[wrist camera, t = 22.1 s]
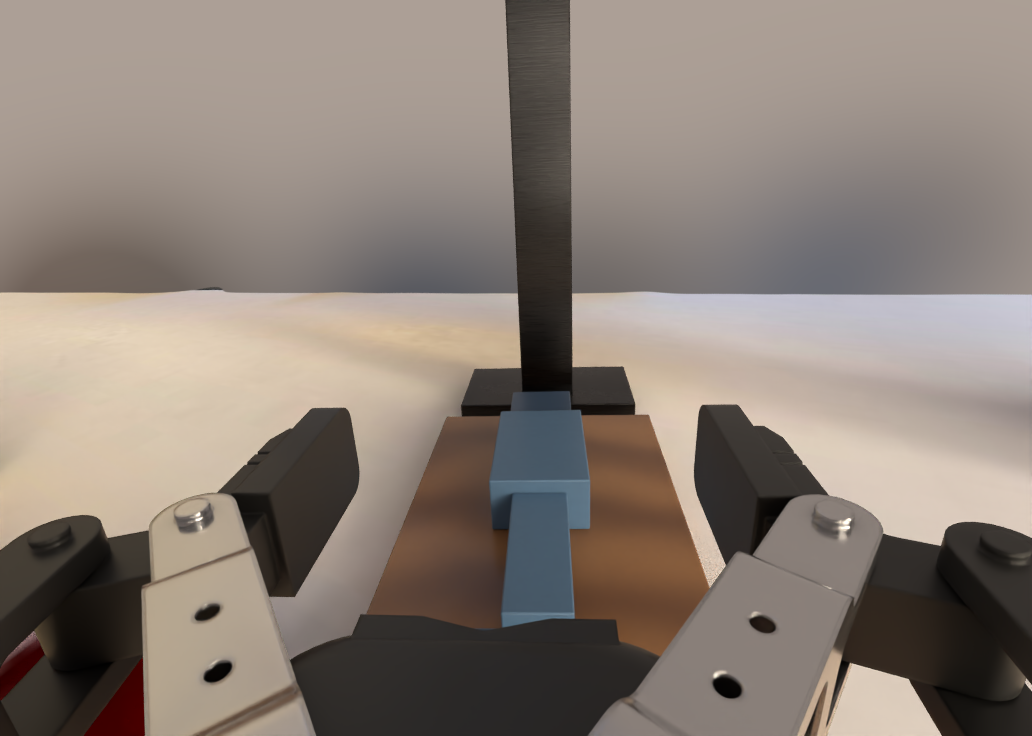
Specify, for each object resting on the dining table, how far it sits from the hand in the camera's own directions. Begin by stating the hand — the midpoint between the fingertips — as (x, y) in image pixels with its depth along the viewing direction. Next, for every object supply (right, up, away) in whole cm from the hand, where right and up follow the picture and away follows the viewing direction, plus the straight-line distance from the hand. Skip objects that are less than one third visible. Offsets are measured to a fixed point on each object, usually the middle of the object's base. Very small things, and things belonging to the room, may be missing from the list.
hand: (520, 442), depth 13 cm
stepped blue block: (+1, -5, +13) cm, 14 cm away
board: (+1, -7, +14) cm, 15 cm away
